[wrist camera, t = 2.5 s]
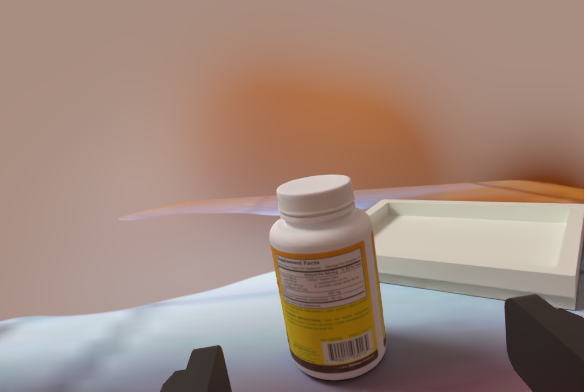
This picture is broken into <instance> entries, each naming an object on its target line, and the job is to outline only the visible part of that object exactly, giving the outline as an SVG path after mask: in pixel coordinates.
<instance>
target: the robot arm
mask: <svg viewBox="0 0 584 392" xmlns="http://www.w3.org/2000/svg"><path fill="white" fill-rule="evenodd" d="M505 324H506V342H507V352H508V356H509V359H510V362H511V364H512V366H513V368H514V370H515V371H516V372H517V374H518V375H519V376H520V377H521V378H522V380H523V381H524V382H525V383H526V384H527V385H528V386H529V388H530V389H531V390H532V391H533V392H584V318H583V317H581V316H579V315H576V314H574V313H571V312H569V311H566V310H564V309H556V308H554V307H553V306H552V305H551V304H549V303H548V302H547V301H545V300H544V299H543V298H541V297H540V296H539V295H537V294H531V295H525V296H519V297H512V298H508V299H506V301H505ZM160 392H232V390H231V386H230V382H229V377H228V373H227V368H226V364H225V359H224V355H223V351H222V348H221V346H220V345H217V346H211V347H205V348H199V349H194V350H193V351H192V353H191V356H190V359H189V362H188V365H187V368H186V370H180V371H175V372H174V373H173V374H172V376H171V377H170V378H169V379H168V380H167V381H166V382H165V383H164V384H163V386H162V389H161V391H160Z"/></svg>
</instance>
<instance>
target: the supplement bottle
mask: <svg viewBox="0 0 584 392" xmlns="http://www.w3.org/2000/svg"><path fill="white" fill-rule="evenodd" d="M277 198H278V210H279V211H280V217H281V219H279V220H278V221H277V222H276V223H275V224H274V225H273V226H272V228H271V230H270V245H271V250H272V255H273V261H274V266H275V271H276V277H277V284H278V288H279V293H280V298H281V304H282V310H283V315H284V320H285V325H286V331H287V336H288V342H289V347H290V352H291V356H292V358H293V360H294V362H295V364H296V365H297V366H298V367H299V368H300V369H301V370H302V371H303V372H305V373H306V374H308V375H310V376H313V377H316V378H320V379H325V380H344V379H349V378H353V377H357V376H360V375H362V374H364V373H366V372H368V371H369V370H371V369H372V368H374V367H375V366H376V365H377V364H378V363H379V362H380V360H381V359H382V357H383V355H384V353H385V350H386V334H385V326H384V318H383V309H382V301H381V292H380V284H379V275H378V267H377V259H376V250H375V242H374V233H373V225H372V221H371V218H370V217H369V215H368V214H367V213H366V212H364V211H363V210H361V209H359V208H355V203H354V200H355V197H354V195H353V189H352V182H351V179H350V178H349V177H347V176H342V175H320V176H312V177H306V178H301V179H297V180H293V181H290V182H287V183H285V184H282V185H281V186H279V187H278V189H277Z"/></svg>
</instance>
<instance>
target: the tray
mask: <svg viewBox="0 0 584 392" xmlns="http://www.w3.org/2000/svg"><path fill="white" fill-rule="evenodd" d="M366 213H367V214H368V215H369V217H370V218H371V221H372V225H373V233H374V242H375V250H376V259H377V267H378V275H379V282H383V283H390V284H397V285H404V286H411V287H418V288H425V289H432V290H438V291H445V292H452V293H459V294H466V295H473V296H480V297H487V298H494V299H501V300H506V299H508V298H512V297H519V296H525V295H531V294H537V295H539V296H540V297H541V298H543V299H544V300H545V301H547V302H548V303H549V304H551V305H552V306H553V307H556V308H563V309H570V310H575V307H576V299H577V290H578V282H579V274H580V266H581V258H582V250H583V242H584V204H558V203H515V202H472V201H429V200H386V199H383V200H381V201H380V202H378V203H377V204H376V205H374V206H373V207H371V208H370V209H369V210H367V211H366Z"/></svg>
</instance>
